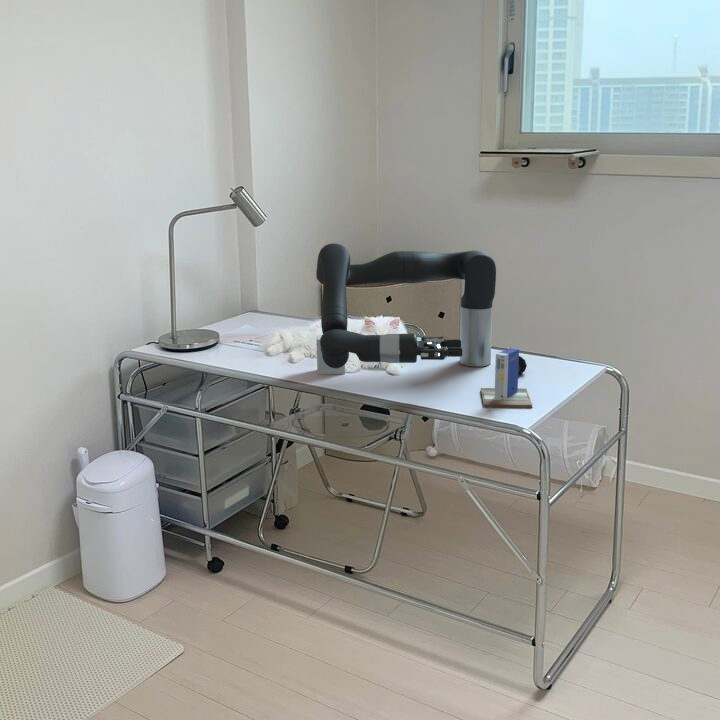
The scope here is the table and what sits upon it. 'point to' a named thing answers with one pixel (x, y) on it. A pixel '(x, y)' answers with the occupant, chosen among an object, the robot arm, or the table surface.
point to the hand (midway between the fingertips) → (461, 347)
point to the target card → (513, 401)
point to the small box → (321, 364)
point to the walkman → (506, 373)
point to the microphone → (521, 365)
